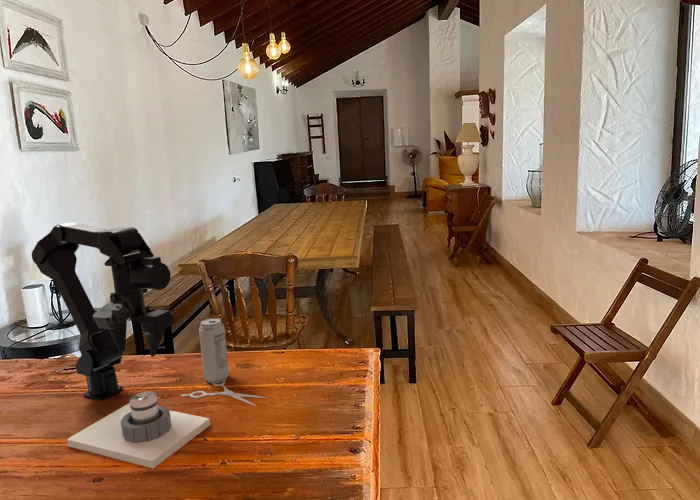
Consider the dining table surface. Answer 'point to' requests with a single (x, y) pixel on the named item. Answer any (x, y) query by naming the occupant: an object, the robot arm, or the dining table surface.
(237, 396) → the scissors
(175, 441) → the plate
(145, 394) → the piston
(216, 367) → the energy drink can
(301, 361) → the dining table surface
